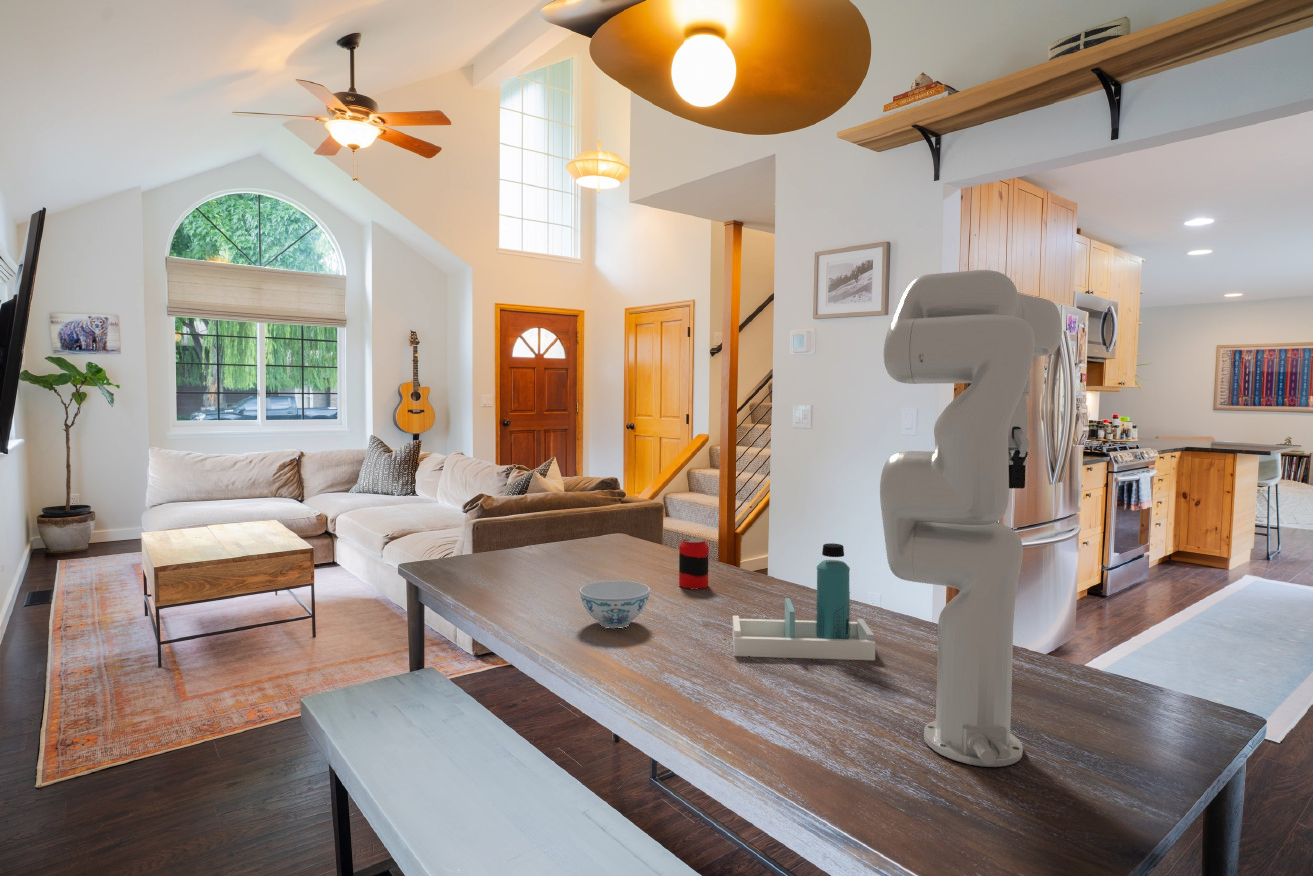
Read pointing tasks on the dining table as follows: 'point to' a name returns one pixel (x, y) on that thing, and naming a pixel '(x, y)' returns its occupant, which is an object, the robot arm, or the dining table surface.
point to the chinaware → (614, 601)
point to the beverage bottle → (833, 595)
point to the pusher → (789, 619)
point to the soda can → (693, 563)
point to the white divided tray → (800, 640)
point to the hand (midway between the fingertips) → (1003, 484)
